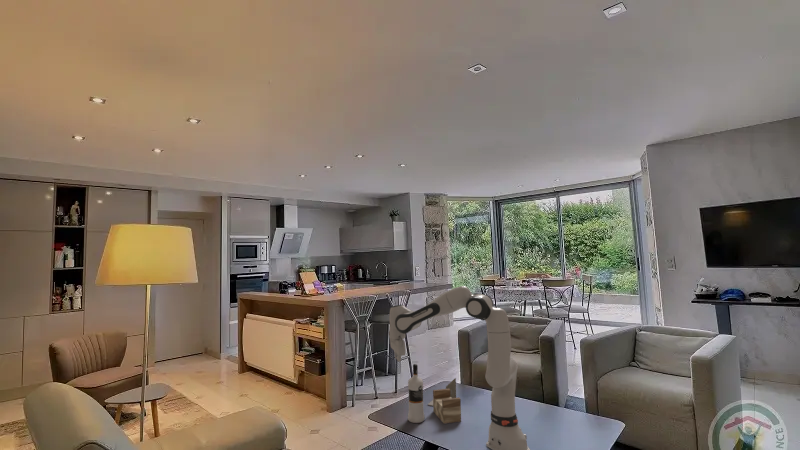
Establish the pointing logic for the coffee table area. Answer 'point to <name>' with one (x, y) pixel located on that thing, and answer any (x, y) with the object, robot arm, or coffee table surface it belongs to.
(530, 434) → the coffee table surface
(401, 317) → the robot arm
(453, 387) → the laptop
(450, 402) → the cradle
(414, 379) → the vodka
